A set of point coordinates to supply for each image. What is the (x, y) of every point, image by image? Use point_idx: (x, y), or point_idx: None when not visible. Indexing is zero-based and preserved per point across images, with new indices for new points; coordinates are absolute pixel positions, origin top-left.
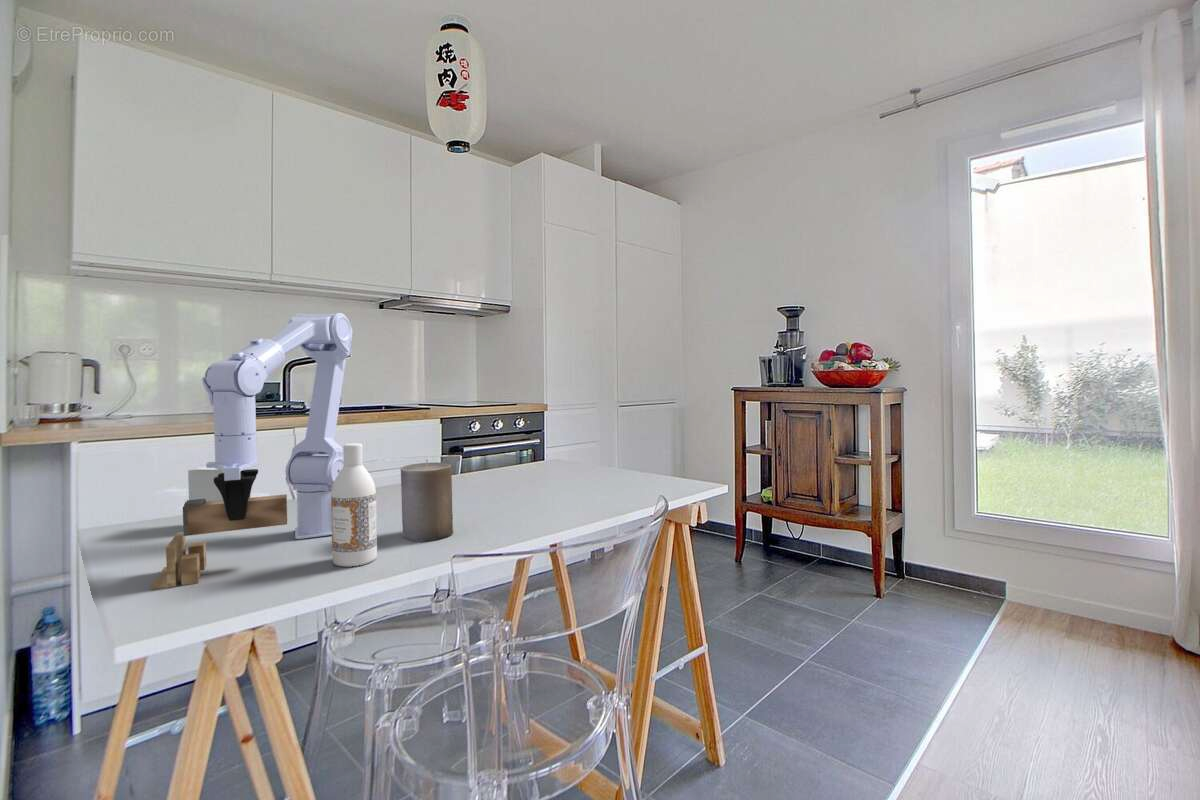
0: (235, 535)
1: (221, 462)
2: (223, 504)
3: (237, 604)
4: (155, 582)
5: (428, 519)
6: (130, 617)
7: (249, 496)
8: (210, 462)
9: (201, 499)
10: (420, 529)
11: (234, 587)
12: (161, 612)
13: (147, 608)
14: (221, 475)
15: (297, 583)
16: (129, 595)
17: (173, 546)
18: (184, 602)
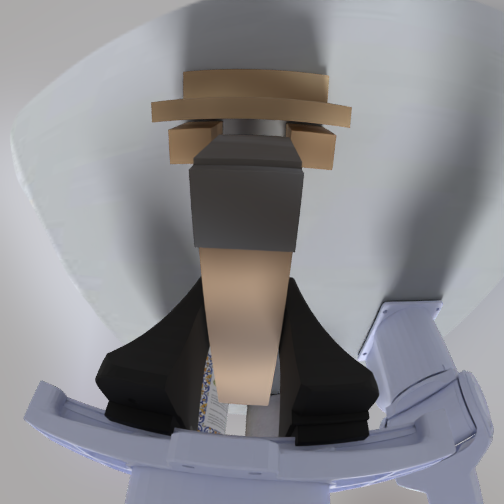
0: (487, 214)
1: (135, 473)
2: (205, 298)
3: (73, 223)
4: (205, 73)
5: (246, 427)
6: (68, 92)
7: (280, 360)
8: (250, 473)
9: (278, 236)
10: (251, 413)
11: (138, 213)
12: (70, 129)
13: (91, 100)
14: (305, 396)
15: (130, 289)
16: (174, 43)
17: (159, 118)
18: (96, 149)
